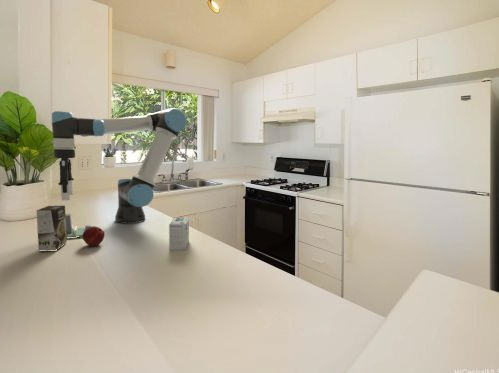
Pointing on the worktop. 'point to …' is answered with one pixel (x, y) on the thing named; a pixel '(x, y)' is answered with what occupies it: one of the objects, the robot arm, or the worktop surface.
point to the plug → (68, 223)
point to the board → (78, 231)
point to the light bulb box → (178, 234)
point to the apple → (93, 236)
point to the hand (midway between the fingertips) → (67, 197)
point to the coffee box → (51, 227)
